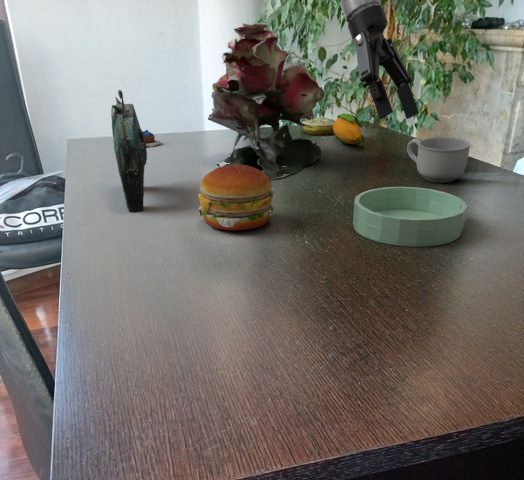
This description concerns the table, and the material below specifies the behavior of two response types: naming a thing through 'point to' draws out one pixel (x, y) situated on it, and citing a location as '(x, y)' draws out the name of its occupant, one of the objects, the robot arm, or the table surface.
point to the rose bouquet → (265, 102)
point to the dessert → (150, 139)
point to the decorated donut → (319, 126)
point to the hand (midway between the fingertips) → (400, 115)
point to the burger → (236, 198)
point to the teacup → (440, 158)
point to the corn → (348, 129)
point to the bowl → (409, 216)
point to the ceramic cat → (129, 152)
